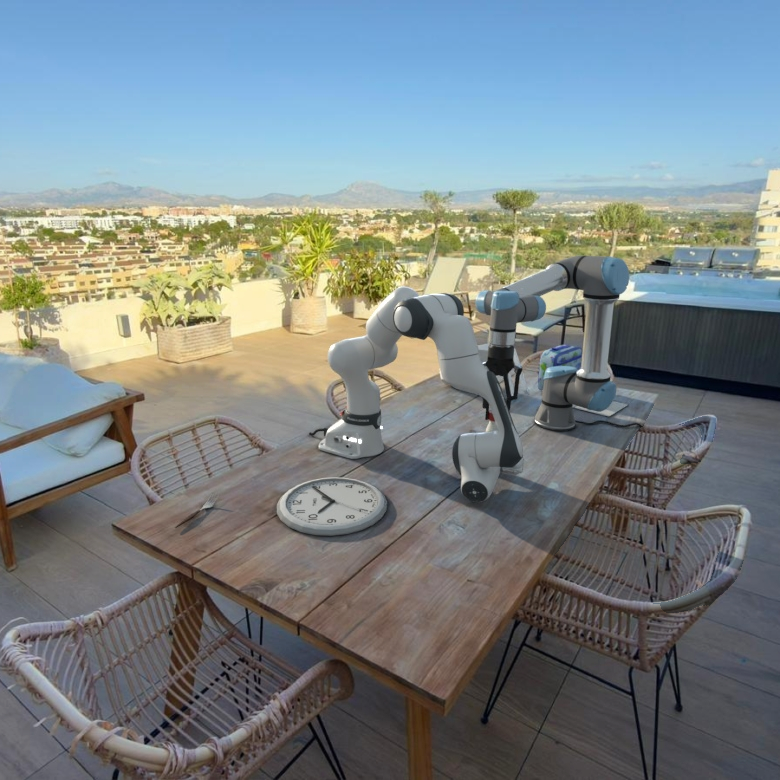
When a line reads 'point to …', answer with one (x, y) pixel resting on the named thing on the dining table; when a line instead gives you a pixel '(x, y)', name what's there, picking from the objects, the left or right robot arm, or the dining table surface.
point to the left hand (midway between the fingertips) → (493, 449)
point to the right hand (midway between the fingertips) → (495, 419)
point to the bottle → (491, 426)
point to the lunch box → (559, 360)
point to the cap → (490, 416)
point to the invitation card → (609, 411)
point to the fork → (206, 505)
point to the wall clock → (331, 506)
